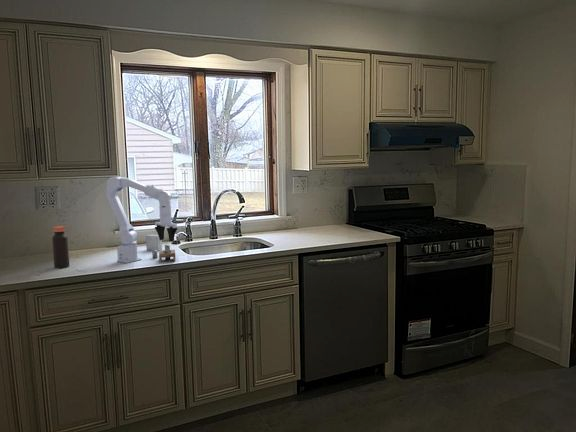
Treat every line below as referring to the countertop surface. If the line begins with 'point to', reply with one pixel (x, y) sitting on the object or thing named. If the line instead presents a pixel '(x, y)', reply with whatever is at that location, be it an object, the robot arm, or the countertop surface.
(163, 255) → the hole bridge
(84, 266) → the countertop surface
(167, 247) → the tall pin
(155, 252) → the short pin
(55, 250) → the bottle
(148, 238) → the medicine box
